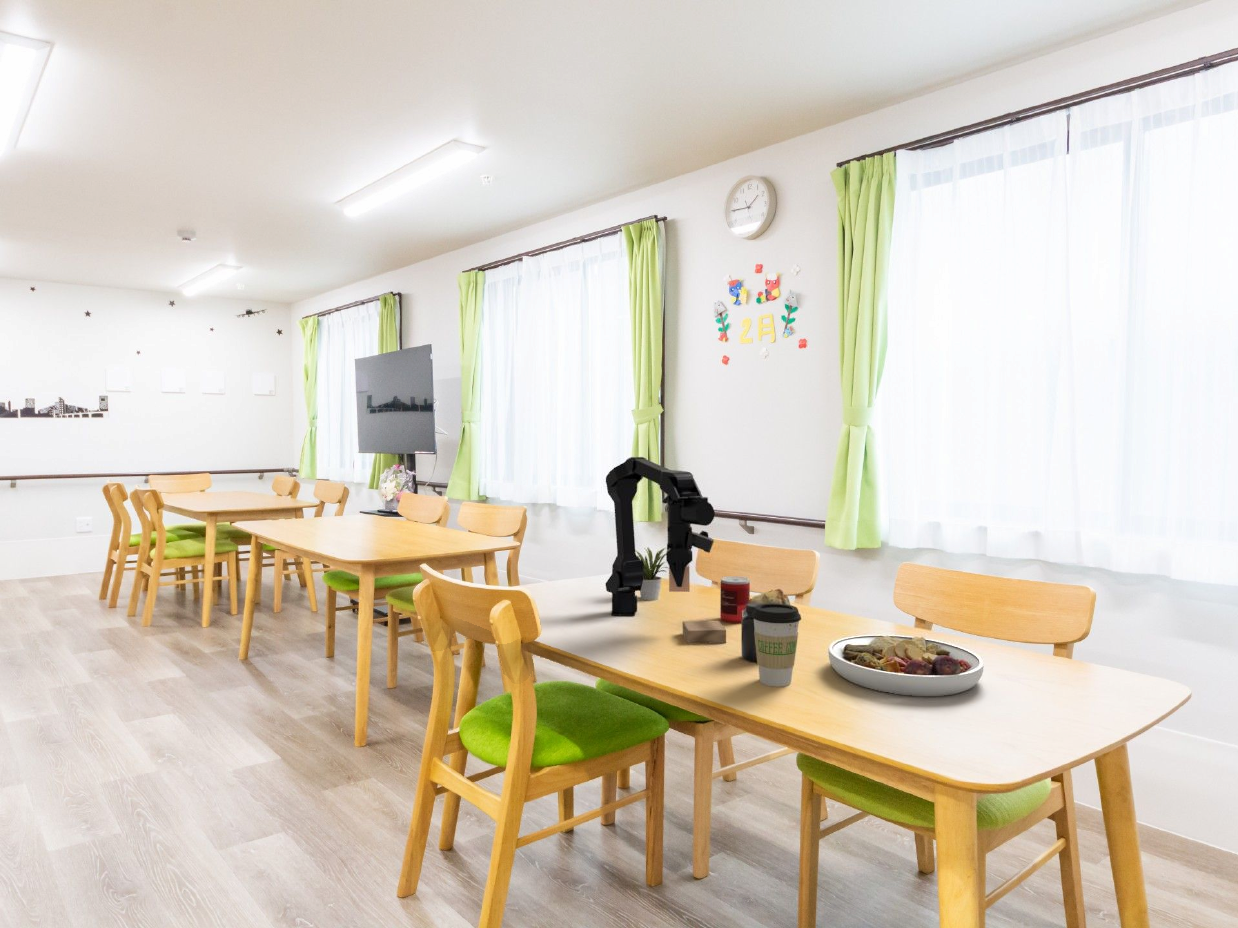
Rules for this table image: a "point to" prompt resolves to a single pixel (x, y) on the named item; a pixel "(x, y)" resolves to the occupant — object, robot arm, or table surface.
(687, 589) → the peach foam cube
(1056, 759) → the table surface
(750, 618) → the supplement bottle
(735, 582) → the canned food
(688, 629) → the walnut box
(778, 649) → the coffee cup
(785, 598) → the pastry
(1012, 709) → the table surface
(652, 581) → the house plant
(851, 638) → the bowl
